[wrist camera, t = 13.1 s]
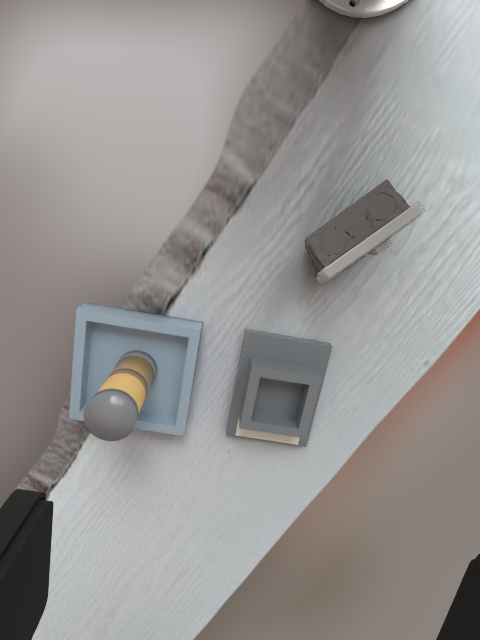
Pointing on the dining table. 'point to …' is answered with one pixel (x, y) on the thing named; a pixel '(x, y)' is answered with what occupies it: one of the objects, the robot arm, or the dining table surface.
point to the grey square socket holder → (277, 387)
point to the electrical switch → (360, 231)
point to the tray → (142, 335)
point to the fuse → (121, 397)
